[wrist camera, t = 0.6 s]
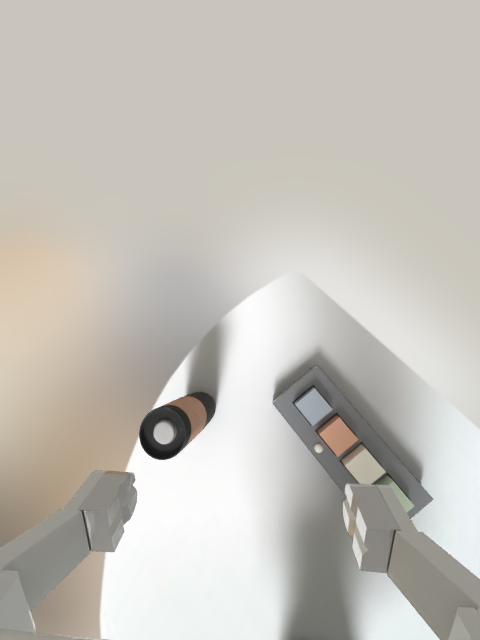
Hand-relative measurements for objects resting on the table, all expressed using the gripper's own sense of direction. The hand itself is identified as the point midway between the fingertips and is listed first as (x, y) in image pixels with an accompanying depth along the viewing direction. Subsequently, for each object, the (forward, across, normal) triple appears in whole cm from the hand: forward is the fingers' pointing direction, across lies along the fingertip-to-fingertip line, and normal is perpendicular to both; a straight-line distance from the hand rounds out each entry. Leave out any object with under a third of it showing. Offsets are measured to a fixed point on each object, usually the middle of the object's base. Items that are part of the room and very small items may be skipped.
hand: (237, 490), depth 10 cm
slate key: (+39, +12, -21) cm, 46 cm away
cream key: (+35, +21, -30) cm, 51 cm away
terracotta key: (+37, +17, -26) cm, 48 cm away
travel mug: (+42, -12, -25) cm, 50 cm away
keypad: (+38, +19, -29) cm, 51 cm away
